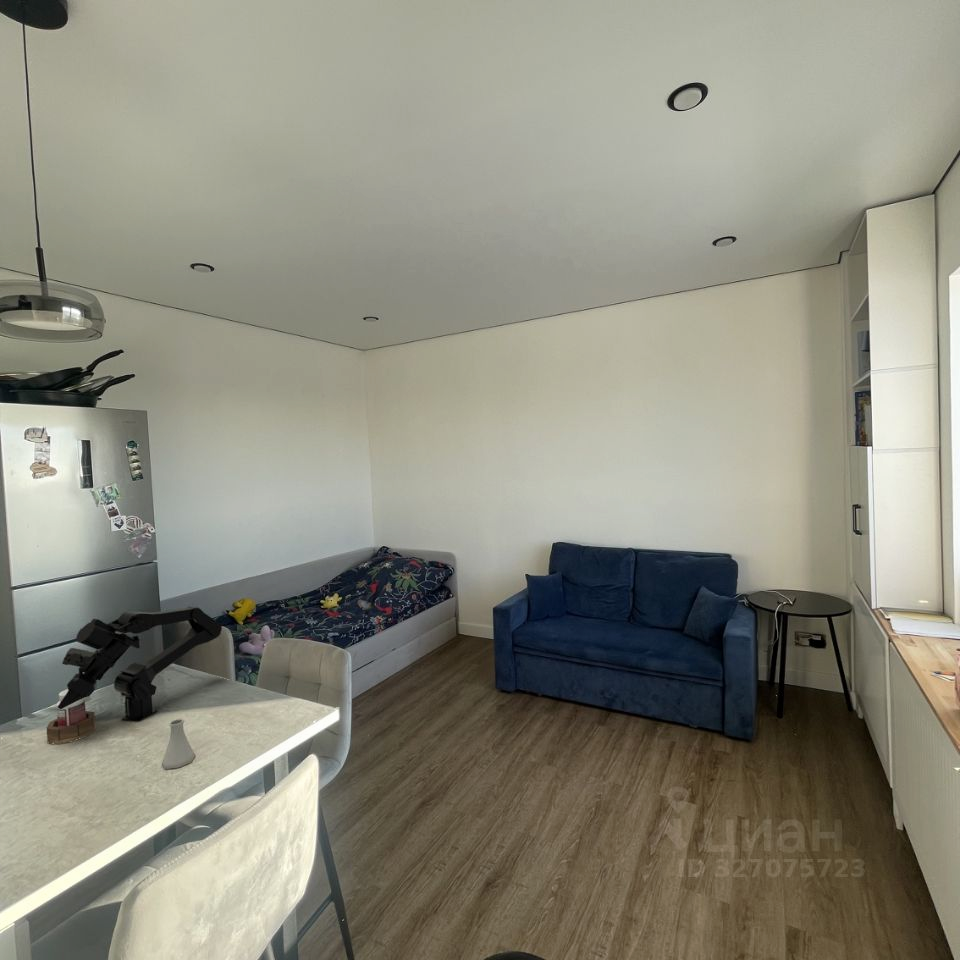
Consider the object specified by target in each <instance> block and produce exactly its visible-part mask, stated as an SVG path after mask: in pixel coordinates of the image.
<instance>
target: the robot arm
mask: <svg viewBox="0 0 960 960" xmlns="http://www.w3.org/2000/svg"><path fill="white" fill-rule="evenodd" d="M181 622H187V624H188V626H190V629H189V631H188V632H187V634H186V635H185V636H184V637H181V638H180V639H179V640H177V641H176V642H175V643H173V644H172V645H170V646H168V647H167V648H166V649H164V650H162V651H161V652H159V653H158V654H157V655H155V656H153V657H152V658H151V659H150V660H148V661H147V662H145V663H142V664H141V663H137V662H132V664H130V665H128V666H127V667H126V668H125V669H121V670H119V671H120V673H119V674H118V675H117V676H116V677H115V678H114V679H115V680H114V682H113V688H114V690H115V691H117V692H118V693H120V695H121V696H122V697H124V699H125V700H124V711H125V713H124V714H125V716H123V717H121V720H122V721H128V720H130V722H141V721H143V720H144V719H146V718H148V717H150V716H152V715H153V714H155V713H157V712H158V708H157V709H156V708H153V698H152V697H153V696H154V695H155V694H156V691H157V686H156V685H154V684H152V682H153V681H154V679H155V678H156V676H157V675H159V674H160V673H161V672H162V671H164V670H165V669H166V668H168V667H169V666H171V665H172V664H173V663H175V662H176V661H178V660H179V659H180V658H182V657H183V656H185V655H186V654H188V652H190V651H192V650H193V649H195V648H196V647H197V646H201V645H203V644H207V643H209V642H212V641H213V640H215V639H217V638H218V637H220V635H221V634H222V631H223V630H222V629H223V628H222V627H223V626H222V624H221V622H219V621H217V620H215V619H214V618H212V617H211V616H210V615H208V614H207V613H205V612H204V611H203V610H202V609H201V608H200V607H198V606H197V607H196V606H187V607H183V608H176V609H169V610H161V611H155V612H144V611H125V612H123V613H122V614H121V615H120V616H119V618H116V619H114V620H112V621H111V622H108V623H106V622H104V621H103V620H100V619H97V618H92V619H91V621H90V622H88V623H86V624H85V625H84V626H83V627H82V628H80V629H79V630H78V633H77V634H76V637H75V640H76V642H77V643H80V644H82V645H84V646H87V647H90V648H92V649H95V651H94V652H93V651H89V650H84V649H81V648H76V647H75V648H74V647H70V648H69V649H68V651H67V652H66V654H65V656H64V658H63V660H62V662H61V664H62V665H64V666H68V665H69V666H74V667H78V673H75V674H74V675H73V677H72V678H71V679H69V680H68V681H67V685H66V687H67V689H68V692H67V694H66V695H65V697H64V698H63V699H62V701H61V702H60V704H59V705H58V708H59V709H62V708H64V707H66V706H68V705H70V704H72V703H74V702H76V701H78V700H80V699H82V698H85V699H86V698H88V697H90V696H91V695H92V694H93V693H94V692H95V690H96V689H97V687H98V681H99V682H100V681H101V680H102V679H103V678H104V676H105V675H106V674H107V673H108V671H109V670H110V669H113V667H114V666H115V665H116V664H117V662H118V661H119V660H120V659H121V658H122V657H123V656H124V655H125V653H126V652H127V651H128V650H129V649H130V648H135V649H140V648H141V647H140V640H141V639H140V637H139V634H141V633H143V632H147V631H150V630H152V629H154V628H155V627H158V626H164V625H165V626H166V625H170V624H175V623H181ZM128 633H130V634H135V635H134V636H133V635H132V636H131V635H129V634H128ZM136 634H137V635H136ZM156 711H157V712H156ZM142 719H143V720H142Z"/></svg>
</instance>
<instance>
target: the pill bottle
mask: <svg viewBox="0 0 960 960" xmlns="http://www.w3.org/2000/svg"><path fill="white" fill-rule="evenodd" d="M67 692H68V688H66V689H64V690H62V691H60V692H59V693H58V700H59V701H58V702H57V703H56V706H55V707H56V719H57V720H58V727H66V726H70V725H74V724H77V723H79V722H81V721H83V720H85V719H86V711H87V710H86V701H85V699H86V697H85V698H82V699H80V700H78V701H76V702H74V703H72V704H70V705H68V706H66V707H64V708H62V709H59V708H58V705H59V704H60V702H61V701H62V699H63V698H64V697H65V695H66V694H67Z"/></svg>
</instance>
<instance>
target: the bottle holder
mask: <svg viewBox="0 0 960 960" xmlns="http://www.w3.org/2000/svg"><path fill="white" fill-rule="evenodd" d="M95 714H96V713H95V711H88V710H86V719H85V720H83V721H81V722H79V723H77V724H74V725H70V726H66V727H58V720H57V718H55V719H53V720H52V721H49V722H48V724H47V727H46V737H47V738H46V739H47V743H48V742H49V743H54V744H57V745H61V744H60V743H65V744H67V743H66V742H69V743H71V742H70V741H73V742H75V741H74V740H76V739H79V738H82V737H84V736H86V737H88V736H90V735H91V734H92V733H93V732H95V730H96V729H95V728H96V727H97V726H96V718H95V716H96V715H95ZM90 733H91V734H90ZM87 735H88V736H87ZM84 738H85V737H84ZM82 739H83V738H82ZM79 740H80V739H79ZM76 741H77V740H76ZM49 743H48V744H49ZM54 744H53V745H54Z"/></svg>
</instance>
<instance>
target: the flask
mask: <svg viewBox="0 0 960 960" xmlns="http://www.w3.org/2000/svg"><path fill="white" fill-rule="evenodd" d="M184 722H185V719H183V718H176V719H173V720H171V721H170V722H169V723H168V725H169V727H170V732H169V733H170V734H169V740H168V743H167V746H166V750H165V753H164V755H163V759H162V762H161V766H162V768H163V769H164V770H169V769H178V768H181V767H183V766H185V765H188V764H190V763H192V762H193V760H194V759H195V757H196V754H195V751H194V750H193V748H192V746H191V745H190V743H189V740H188V738H187V736H186V734H185V730H184Z"/></svg>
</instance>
